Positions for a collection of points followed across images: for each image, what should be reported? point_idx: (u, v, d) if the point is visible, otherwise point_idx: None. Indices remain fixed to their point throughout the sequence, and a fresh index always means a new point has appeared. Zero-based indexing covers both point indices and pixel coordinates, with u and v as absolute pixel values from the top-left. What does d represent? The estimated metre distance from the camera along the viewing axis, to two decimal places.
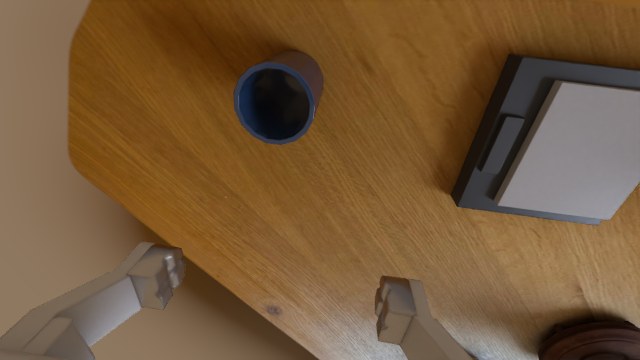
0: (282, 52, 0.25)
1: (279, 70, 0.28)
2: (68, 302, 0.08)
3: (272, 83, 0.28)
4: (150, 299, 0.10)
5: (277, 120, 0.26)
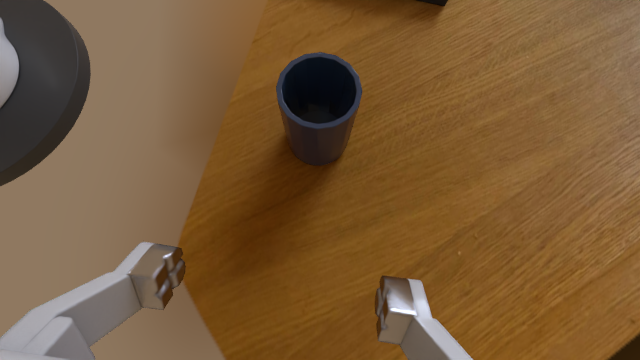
0: None
1: None
2: (68, 302, 0.08)
3: None
4: (150, 299, 0.10)
5: None
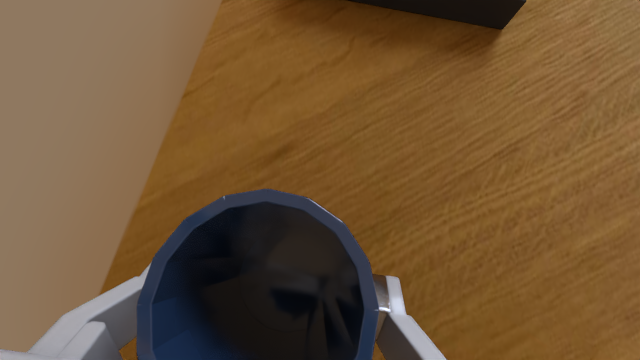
0: None
1: (262, 299, 0.15)
2: (99, 306, 0.08)
3: (283, 318, 0.15)
4: None
5: (339, 316, 0.11)
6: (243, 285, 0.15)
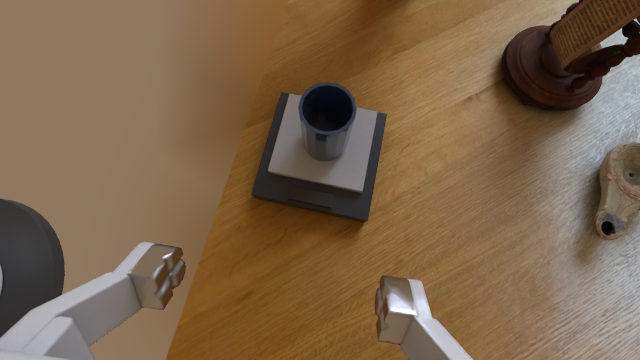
0: None
1: None
2: (68, 302, 0.08)
3: None
4: (150, 299, 0.10)
5: None
6: None
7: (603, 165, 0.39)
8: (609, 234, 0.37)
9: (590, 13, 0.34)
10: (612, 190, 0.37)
